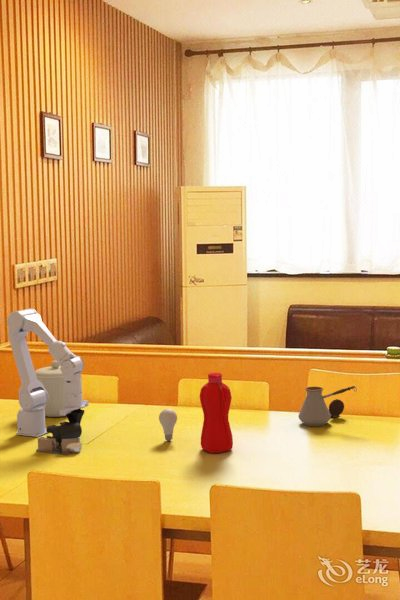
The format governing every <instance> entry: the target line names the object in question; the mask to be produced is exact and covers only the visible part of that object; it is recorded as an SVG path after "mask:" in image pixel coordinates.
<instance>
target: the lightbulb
mask: <svg viewBox="0 0 400 600" xmlns="http://www.w3.org/2000/svg"><path fill="white" fill-rule="evenodd" d="M158 420H159V423H160V425H161V428H162V429H163V434H164V440H165V441H167V442H171V440H173V435H174V434H173V433H174V430H175V429H174V428H175V426H176V424H177V421H178V414H177V413H176V411H174V410H173V409H172V408H164V409H163V410H162V411H160V413H159V415H158Z"/></svg>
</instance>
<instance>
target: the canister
mask: <svg viewBox="0 0 400 600" xmlns="http://www.w3.org/2000/svg"><path fill="white" fill-rule="evenodd" d="M60 367H61V366H60V364H59V363H58V362H57V361H56V360H55V359H54V360H52V361H51V362H50V366H46V367H40V368H38V369H36V370H35V374H36V378H37V380H38V381H40V382H41V383H42V384H43V386H44V389H45V390H46V391H47V393H48V401H47V403H46V404H45V406H46V407H45V417H49V418H60V417H63V416H62V415H60V409H62V408H63V407H64V406H65V405H66V399H65V380H64V376H63V374H62V372H61V369H60ZM64 417H66V415H65V416H64Z"/></svg>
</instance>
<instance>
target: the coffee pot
mask: <svg viewBox="0 0 400 600" xmlns="http://www.w3.org/2000/svg"><path fill="white" fill-rule="evenodd" d="M351 390H353V391H354V392H355V393H356V392H357V391H358V389H357V387H356V386H355V385H354V386H353V385H352V386H347V387H346V388H342V389H339V390H336V391H333V392H332V393H328V394H325V395H322V393H323V391H324V387H321V386H307V387H305V392H306V396H305V398H304V401H303V402H302V403H303V404H302V406H301V407H300V410H299V413H298V415H297V416H298V419H299V420H300V422H301V423H303V424H304V426H309V427H323V426H325V425H327V424H328V422H330V420H331V419H332V418H331V415H330V412H329V407H328V405H327V404H326V402H325V399H327V398H329V397H331V396H332V397H333V396H336V395H339V394H344V393H345V392H347V391H351Z"/></svg>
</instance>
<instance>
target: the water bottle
mask: <svg viewBox="0 0 400 600" xmlns="http://www.w3.org/2000/svg"><path fill="white" fill-rule="evenodd" d="M207 378H208V379H207V380H208V382H207V383H205V384H204V385H203V386H202V387H201V388H200V393H199V402H200V405H201V409H202V414H203V422H202V428H201V434H200V446H201V448H202V450H203V451H206V452H207V453H210V454H219V453H225V452H230V451H231V450H232V449H233V446H234V441H233V433H232V428H231V426H230V425H231V424H230V422H229V412H230V409H231V403H232V398H233V397H232V391H231V389H230V387H229V386H228V385H227V384H226V383H224V382H223V374H222V373H221V372H209V373H208V377H207Z"/></svg>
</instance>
